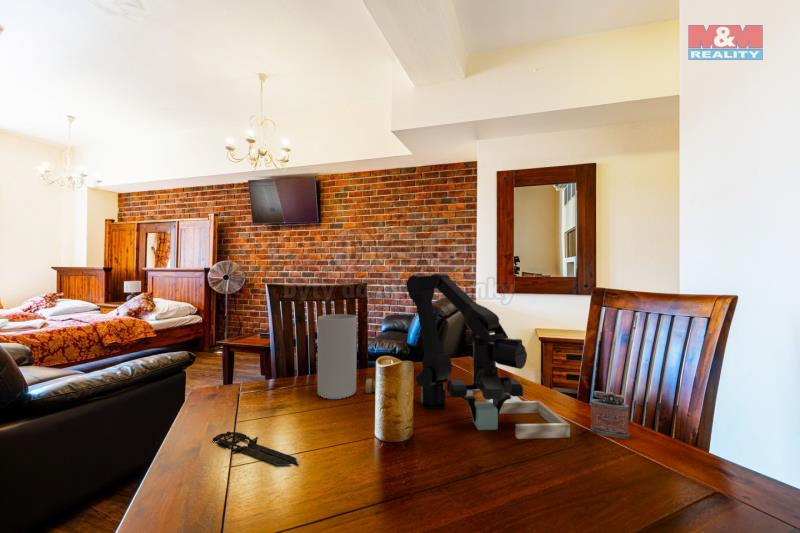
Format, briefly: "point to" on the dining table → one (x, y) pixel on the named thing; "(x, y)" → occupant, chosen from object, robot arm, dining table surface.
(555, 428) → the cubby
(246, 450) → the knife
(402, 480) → the dining table surface
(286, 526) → the dining table surface
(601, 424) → the lighter
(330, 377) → the cylinder vase
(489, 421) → the cube
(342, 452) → the dining table surface
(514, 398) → the ceramic tile
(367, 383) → the gavel
